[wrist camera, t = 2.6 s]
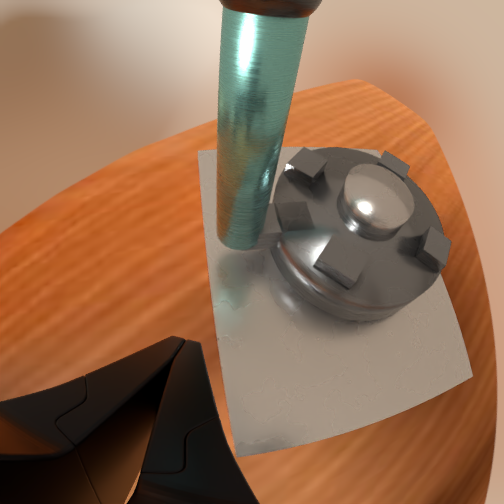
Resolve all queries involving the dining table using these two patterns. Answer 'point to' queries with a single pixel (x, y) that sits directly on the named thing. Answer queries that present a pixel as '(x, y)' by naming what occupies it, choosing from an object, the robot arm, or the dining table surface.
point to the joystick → (313, 182)
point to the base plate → (316, 346)
